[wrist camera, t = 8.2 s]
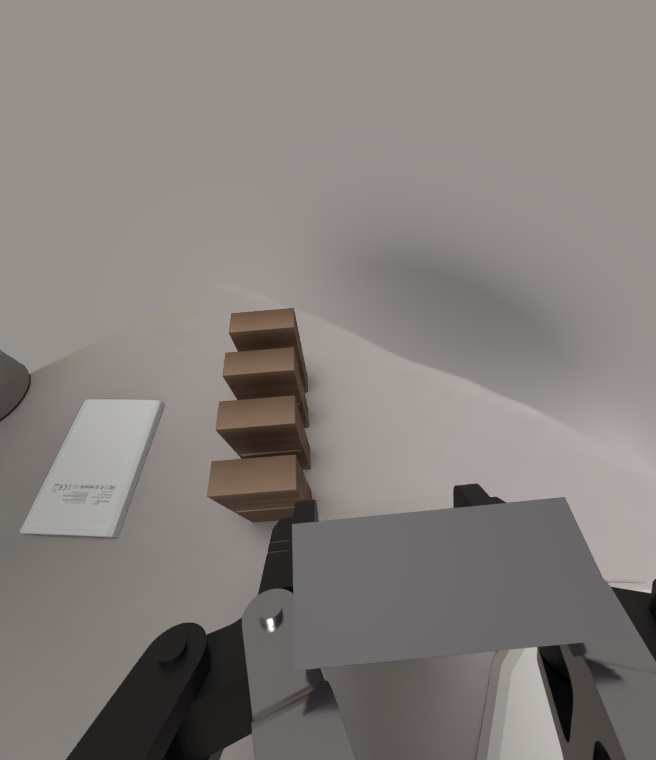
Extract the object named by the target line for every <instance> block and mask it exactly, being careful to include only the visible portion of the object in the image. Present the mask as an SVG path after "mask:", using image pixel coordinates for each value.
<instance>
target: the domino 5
mask: <svg viewBox="0 0 656 760" xmlns="http://www.w3.org/2000/svg"><path fill="white" fill-rule="evenodd" d="M292 549H293V601H294V654H295V670H305V669H316V668H326V667H336V666H346V665H357V664H367V663H377V662H388V661H398V660H408V659H418V658H429V657H439V656H449V655H460V654H470V653H480V652H490V651H501V650H511V649H521V648H532V647H542V646H552V645H562V644H573V643H583V642H593V641H604V640H614V639H624V638H631V637H630V635H629V633H628V631H627V628H626V626H625V624H624V622H623V620H622V618H621V616H620V614H619V611H618V609H617V607H616V605H615V603H614V601H613V599H612V597H611V594H610V592H609V590H608V588H607V586H606V584H605V582H604V580H603V577H602V575H601V573H600V571H599V569H598V567H597V565H596V563H595V561H594V558H593V556H592V554H591V552H590V550H589V548H588V546H587V544H586V541H585V539H584V537H583V535H582V533H581V531H580V529H579V527H578V524H577V522H576V520H575V518H574V516H573V514H572V512H571V510H570V507H569V505H568V503H567V501H566V499H565V497H561V498H551V499H541V500H531V501H521V502H511V503H500V504H490V505H480V506H470V507H460V508H450V509H440V510H430V511H420V512H410V513H400V514H390V515H380V516H369V517H359V518H349V519H339V520H329V521H319V522H309V523H299V524H292Z"/></svg>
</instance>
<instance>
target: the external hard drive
mask: <svg viewBox="0 0 656 760" xmlns="http://www.w3.org/2000/svg"><path fill="white" fill-rule="evenodd" d="M164 406H165V404H164V403H163V402H162V401H159V400H116V399H87V400H85V401H84V403H83V405H82V407H81V409H80V411H79V413H78V415H77V417H76V419H75V421H74V423H73V425H72V427H71V429H70V431H69V433H68V435H67V437H66V439H65V441H64V443H63V445H62V447H61V449H60V451H59V453H58V455H57V457H56V459H55V461H54V463H53V465H52V467H51V469H50V471H49V473H48V475H47V477H46V480H45V481H44V483H43V485H42V487H41V490H40V492H39V494H38V496H37V498H36V500H35V502H34V504H33V506H32V508H31V510H30V512H29V514H28V516H27V518H26V520H25V522H24V524H23V526H22V528H21V530H20V532H19V533H20V534H39V535H68V536H87V537H111V538H118V536H119V533H120V530H121V527H122V524H123V522H124V519H125V516H126V513H127V511H128V508H129V505H130V502H131V499H132V496H133V494H134V491H135V488H136V485H137V482H138V480H139V477H140V474H141V471H142V468H143V465H144V463H145V460H146V457H147V454H148V451H149V448H150V445H151V443H152V440H153V437H154V434H155V431H156V428H157V425H158V423H159V420H160V417H161V414H162V411H163V408H164Z"/></svg>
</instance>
